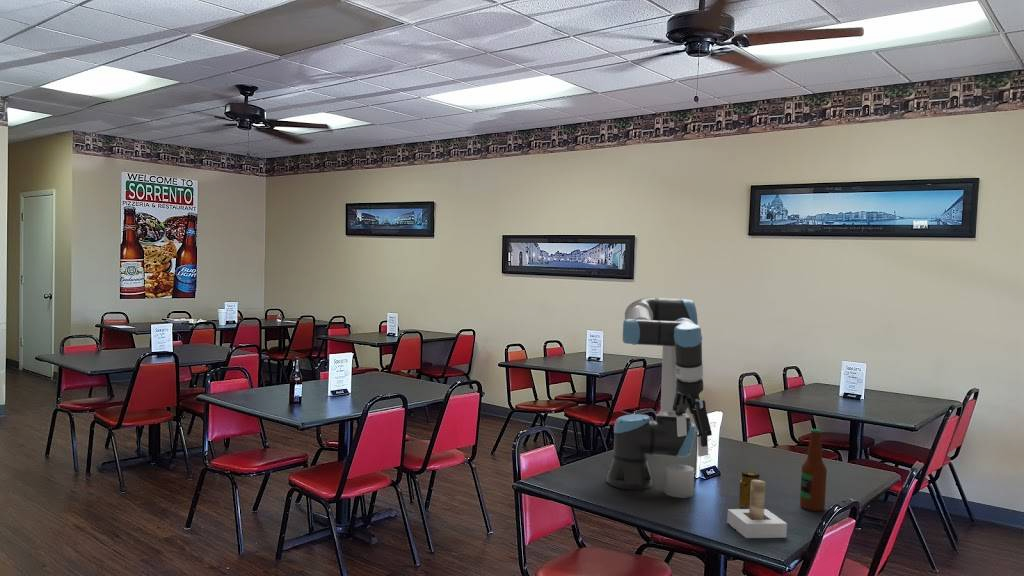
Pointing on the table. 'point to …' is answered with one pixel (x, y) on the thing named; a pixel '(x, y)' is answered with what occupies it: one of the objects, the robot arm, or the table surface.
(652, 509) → the table surface
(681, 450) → the robot arm
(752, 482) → the dowel
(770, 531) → the socket
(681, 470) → the toilet tissue
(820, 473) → the bottle
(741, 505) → the condiment
